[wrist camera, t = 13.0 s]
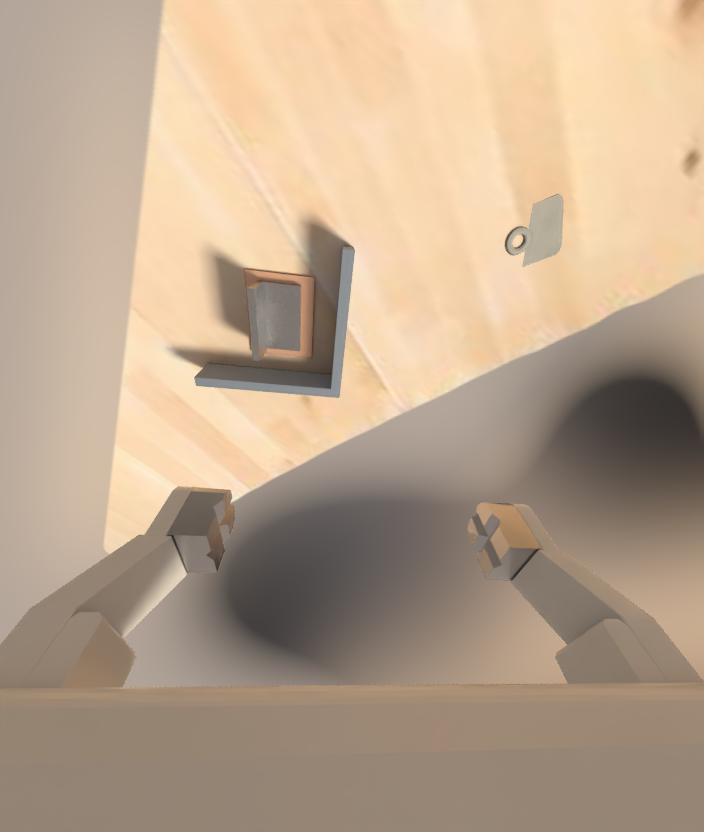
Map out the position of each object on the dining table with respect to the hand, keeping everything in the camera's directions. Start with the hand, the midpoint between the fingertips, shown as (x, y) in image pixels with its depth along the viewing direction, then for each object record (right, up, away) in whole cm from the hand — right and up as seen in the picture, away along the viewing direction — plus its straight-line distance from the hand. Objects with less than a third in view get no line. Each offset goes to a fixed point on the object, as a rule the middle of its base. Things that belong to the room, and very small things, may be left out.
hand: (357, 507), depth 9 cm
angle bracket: (-9, +15, +26) cm, 32 cm away
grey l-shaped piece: (-10, +16, +27) cm, 32 cm away
